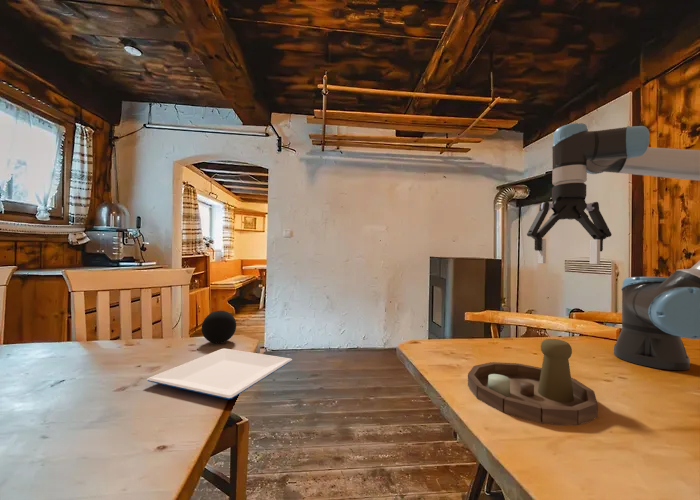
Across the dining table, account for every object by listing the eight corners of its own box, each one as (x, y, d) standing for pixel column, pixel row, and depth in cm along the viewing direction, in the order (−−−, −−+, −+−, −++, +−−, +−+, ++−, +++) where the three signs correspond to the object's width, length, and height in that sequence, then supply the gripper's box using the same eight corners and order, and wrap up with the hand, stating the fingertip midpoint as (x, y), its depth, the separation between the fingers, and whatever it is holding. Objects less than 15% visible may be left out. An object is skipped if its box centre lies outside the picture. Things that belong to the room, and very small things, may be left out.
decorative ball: (197, 348, 90) (197, 314, 90) (206, 338, 100) (206, 308, 100) (233, 346, 92) (233, 313, 92) (238, 337, 102) (238, 307, 102)
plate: (145, 388, 65) (145, 378, 65) (223, 354, 86) (223, 347, 86) (230, 408, 57) (230, 397, 57) (293, 366, 78) (293, 358, 78)
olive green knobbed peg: (580, 404, 58) (581, 345, 58) (544, 400, 59) (545, 343, 59) (565, 390, 64) (565, 337, 64) (533, 387, 65) (533, 335, 65)
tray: (551, 378, 72) (552, 364, 72) (631, 434, 50) (631, 413, 50) (456, 374, 73) (456, 360, 74) (492, 427, 52) (492, 406, 52)
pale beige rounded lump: (504, 388, 64) (505, 374, 64) (513, 397, 60) (513, 382, 60) (485, 387, 64) (485, 373, 64) (492, 396, 60) (492, 381, 60)
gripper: (607, 187, 85) (606, 263, 85) (514, 187, 87) (513, 262, 87) (629, 181, 78) (629, 265, 78) (527, 181, 80) (526, 263, 79)
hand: (567, 263), depth 82 cm, fingers open, 13 cm apart
